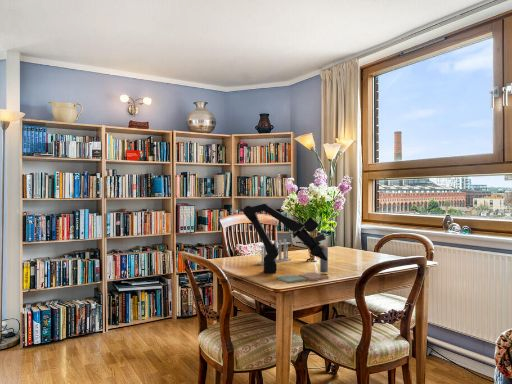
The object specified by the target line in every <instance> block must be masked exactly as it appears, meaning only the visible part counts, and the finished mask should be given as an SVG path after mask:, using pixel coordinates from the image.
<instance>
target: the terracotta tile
mask: <svg viewBox="0 0 512 384" xmlns="http://www.w3.org/2000/svg"><path fill="white" fill-rule="evenodd" d="M297 276H300V277H303V278H306V280H308V281H312V282H313V281H318V280H324V279H329V277H330V276H329V275H327V274H323V273H319V272H315V271H314V272H306V273H300V274H298V275H297Z"/></svg>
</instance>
